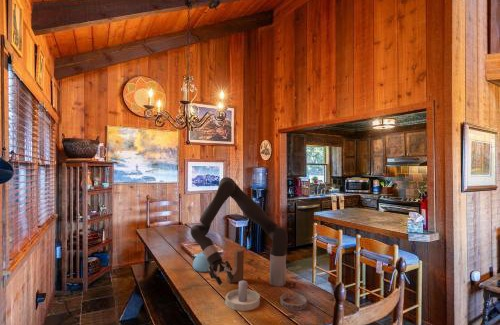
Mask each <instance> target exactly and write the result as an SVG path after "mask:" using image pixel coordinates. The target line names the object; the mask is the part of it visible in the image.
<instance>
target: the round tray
mask: <svg viewBox="0 0 500 325" xmlns="http://www.w3.org/2000/svg"><path fill="white" fill-rule="evenodd" d="M238 296H239V288H236V289H232V290H231V291H228V292H227V293H226V294H225V300H224V302H225V305H226V306H227V308H229V309H232V310H233V311H240V312H245V311H251V310H255V309H257V308H258V307H259V306H260V304H261V295H260V293H258V292H257V291H255V290H252V289H248V288H247V301H246V302H240V301H239V300H238Z"/></svg>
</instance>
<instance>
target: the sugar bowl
mask: <svg viewBox="0 0 500 325" xmlns="http://www.w3.org/2000/svg"><path fill="white" fill-rule="evenodd" d="M209 267H210V265H209V263H208V261H207V259H206V257H205V255H204V253H203V251H201V252H198V253H197V254H196V256H195V257H194V260H193V261H192V268H193V270H194V271H196V272H199V273H209V272H208V270H207V269H208V268H209Z"/></svg>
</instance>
